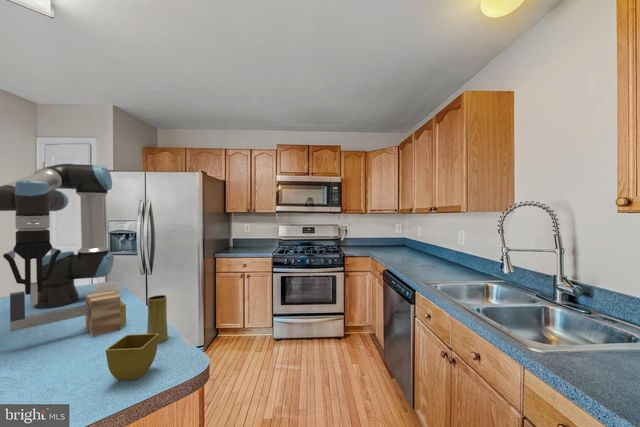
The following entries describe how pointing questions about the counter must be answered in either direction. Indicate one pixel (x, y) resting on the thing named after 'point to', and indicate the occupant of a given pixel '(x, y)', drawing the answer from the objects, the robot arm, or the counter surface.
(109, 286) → the cup
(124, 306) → the collar
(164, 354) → the counter surface
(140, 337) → the flower pot
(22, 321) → the shaft
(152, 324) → the vase
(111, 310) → the block
